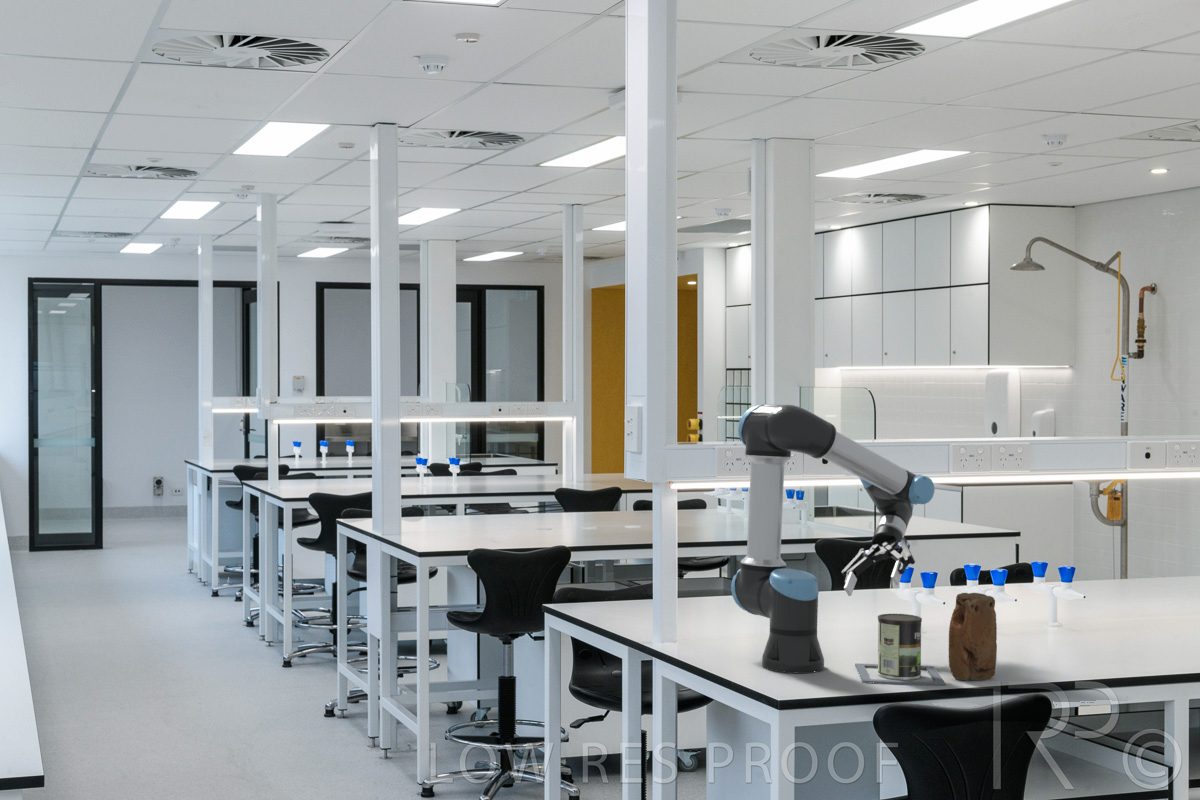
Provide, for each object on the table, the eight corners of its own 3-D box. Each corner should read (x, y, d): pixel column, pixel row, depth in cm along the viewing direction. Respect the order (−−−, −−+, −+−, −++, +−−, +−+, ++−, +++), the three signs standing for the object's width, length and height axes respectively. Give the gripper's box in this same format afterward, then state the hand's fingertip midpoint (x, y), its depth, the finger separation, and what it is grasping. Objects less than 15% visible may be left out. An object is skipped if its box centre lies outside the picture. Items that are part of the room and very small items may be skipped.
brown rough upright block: (975, 672, 295) (976, 590, 295) (999, 679, 289) (1000, 595, 289) (943, 677, 290) (944, 593, 290) (967, 683, 283) (968, 598, 283)
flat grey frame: (862, 682, 283) (862, 680, 283) (855, 665, 302) (855, 663, 302) (946, 686, 281) (946, 683, 281) (933, 668, 300) (933, 666, 300)
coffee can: (922, 672, 295) (923, 614, 295) (919, 682, 285) (920, 622, 285) (879, 669, 298) (879, 612, 298) (874, 678, 288) (875, 619, 288)
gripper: (938, 535, 317) (922, 587, 301) (854, 556, 332) (835, 606, 316) (924, 513, 315) (908, 564, 299) (841, 535, 330) (821, 585, 314)
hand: (870, 586), depth 307 cm, fingers open, 13 cm apart
